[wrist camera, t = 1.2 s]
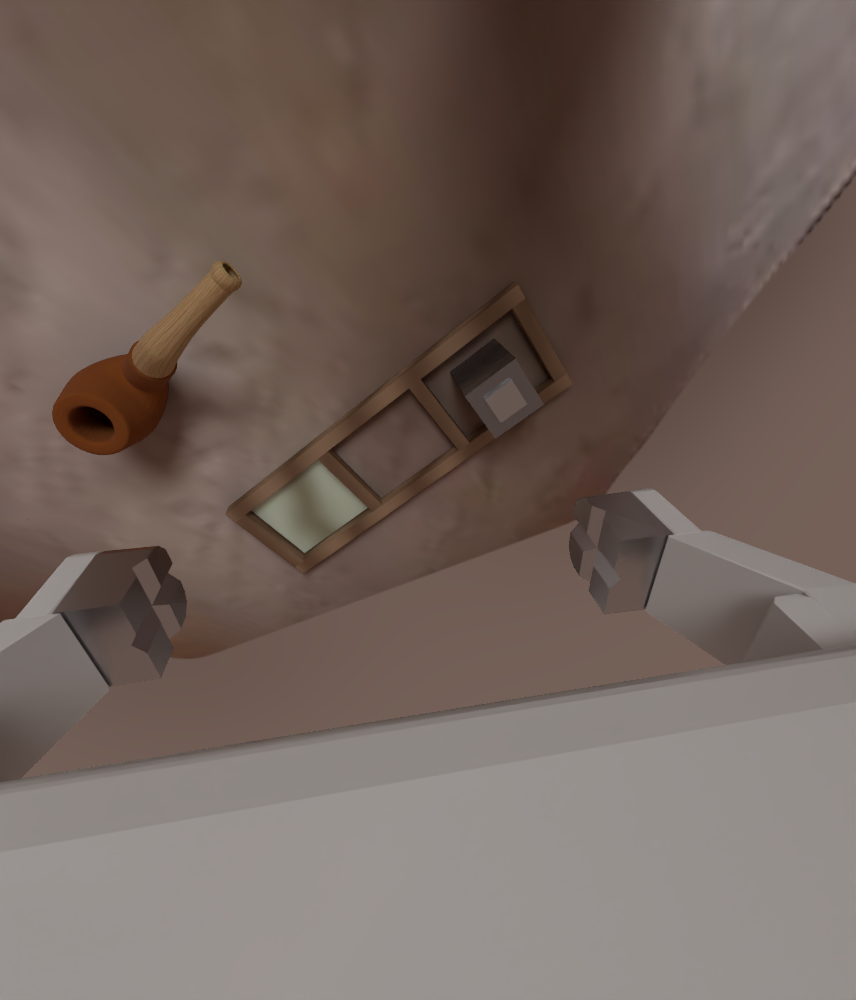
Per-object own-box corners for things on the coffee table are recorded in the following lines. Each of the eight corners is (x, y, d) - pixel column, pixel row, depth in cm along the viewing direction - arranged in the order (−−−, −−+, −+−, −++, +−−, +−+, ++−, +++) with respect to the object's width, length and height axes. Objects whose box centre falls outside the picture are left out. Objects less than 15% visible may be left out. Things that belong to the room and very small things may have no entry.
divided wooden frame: (513, 282, 35) (518, 284, 34) (567, 379, 40) (573, 384, 39) (228, 507, 43) (225, 514, 42) (304, 566, 48) (303, 573, 47)
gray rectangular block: (493, 338, 38) (516, 359, 32) (519, 379, 40) (545, 406, 35) (450, 372, 39) (465, 397, 33) (477, 410, 41) (496, 440, 36)
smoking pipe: (164, 423, 38) (94, 378, 36) (275, 254, 28) (188, 175, 26) (114, 478, 33) (27, 428, 31) (228, 293, 23) (113, 198, 21)
